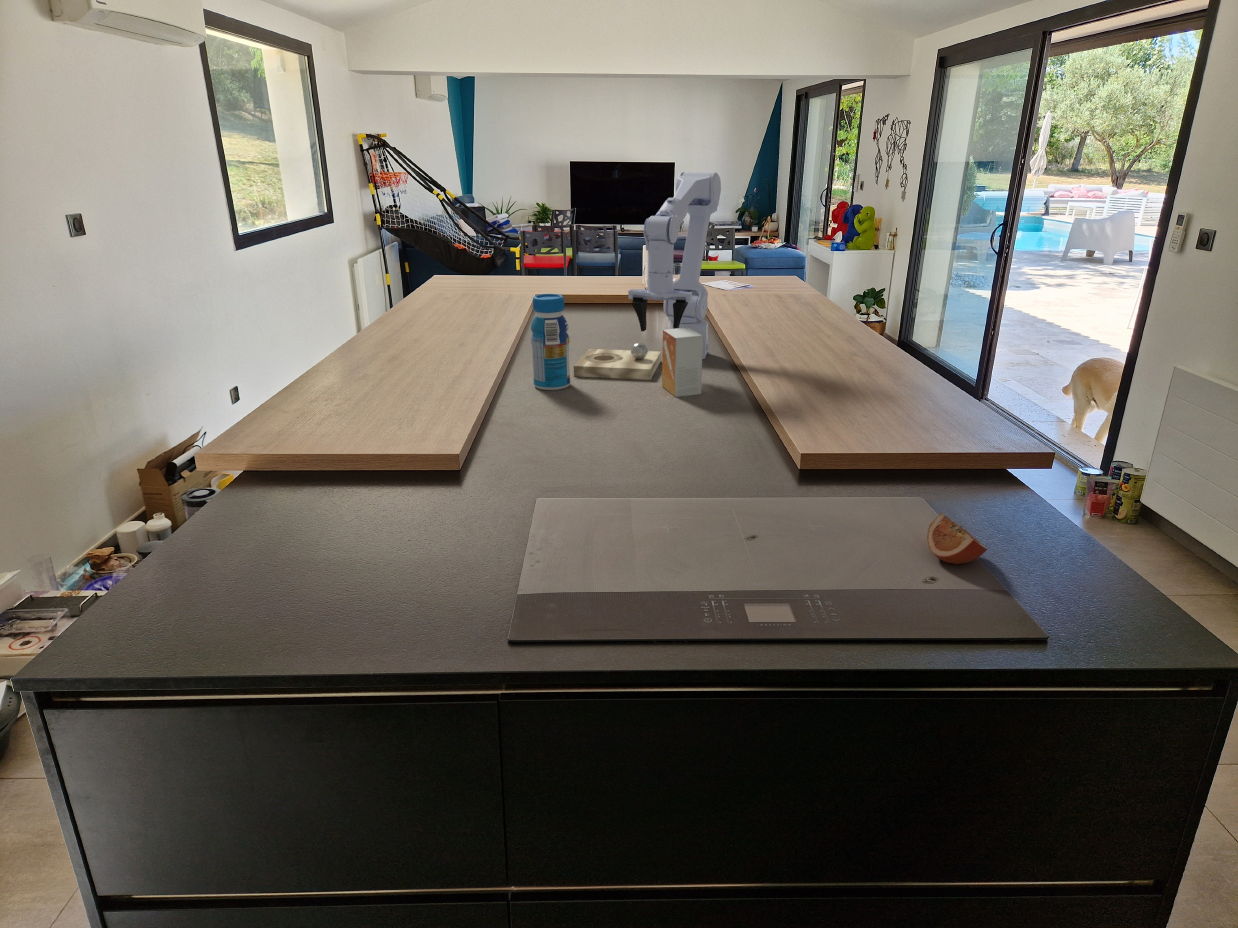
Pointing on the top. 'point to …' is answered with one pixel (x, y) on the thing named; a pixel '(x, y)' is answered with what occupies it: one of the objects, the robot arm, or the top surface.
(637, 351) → the steel ball
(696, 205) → the robot arm
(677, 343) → the small box
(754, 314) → the top surface
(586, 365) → the hole plate
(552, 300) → the beverage bottle
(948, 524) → the fruit slice
